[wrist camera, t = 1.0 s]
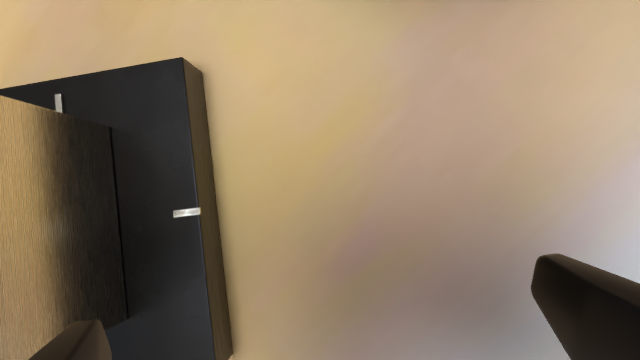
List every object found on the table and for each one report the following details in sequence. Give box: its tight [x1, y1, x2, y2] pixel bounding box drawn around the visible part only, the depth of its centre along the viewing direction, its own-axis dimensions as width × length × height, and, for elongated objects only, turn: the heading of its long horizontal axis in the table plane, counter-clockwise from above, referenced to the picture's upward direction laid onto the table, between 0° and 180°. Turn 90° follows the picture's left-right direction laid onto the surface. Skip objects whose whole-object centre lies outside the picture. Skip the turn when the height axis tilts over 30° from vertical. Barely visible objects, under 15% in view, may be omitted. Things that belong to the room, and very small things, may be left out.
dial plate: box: [0, 57, 233, 360], centre depth 22 cm, size 16×14×3 cm
